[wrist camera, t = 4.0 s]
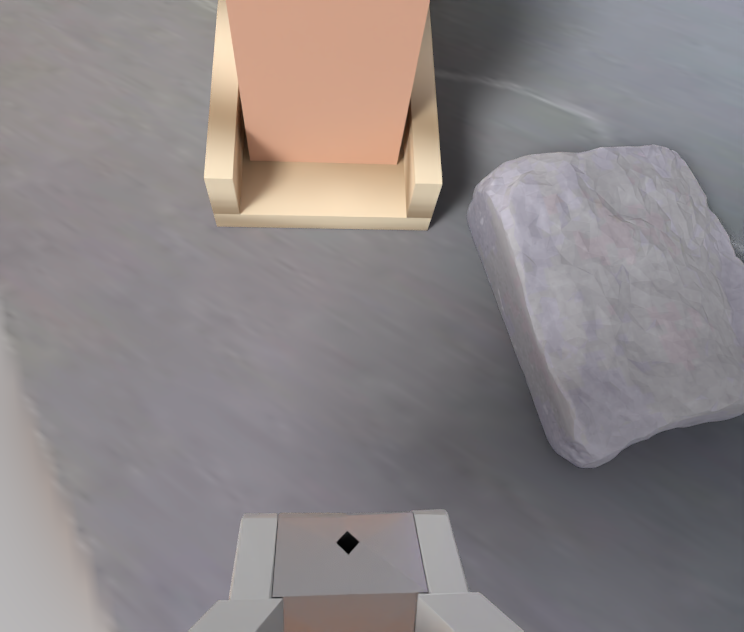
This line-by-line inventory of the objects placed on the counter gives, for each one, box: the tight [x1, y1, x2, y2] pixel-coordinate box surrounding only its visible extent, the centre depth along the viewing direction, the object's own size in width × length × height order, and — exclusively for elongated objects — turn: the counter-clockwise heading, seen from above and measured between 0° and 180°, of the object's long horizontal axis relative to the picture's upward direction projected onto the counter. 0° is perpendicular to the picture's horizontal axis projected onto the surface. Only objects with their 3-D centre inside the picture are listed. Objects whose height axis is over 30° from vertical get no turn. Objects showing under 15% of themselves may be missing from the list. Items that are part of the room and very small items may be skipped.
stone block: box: [467, 144, 744, 468], centre depth 26 cm, size 12×5×10 cm
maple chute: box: [204, 0, 442, 230], centre depth 28 cm, size 18×9×4 cm, turn 1°
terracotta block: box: [226, 0, 430, 165], centre depth 23 cm, size 5×6×11 cm
